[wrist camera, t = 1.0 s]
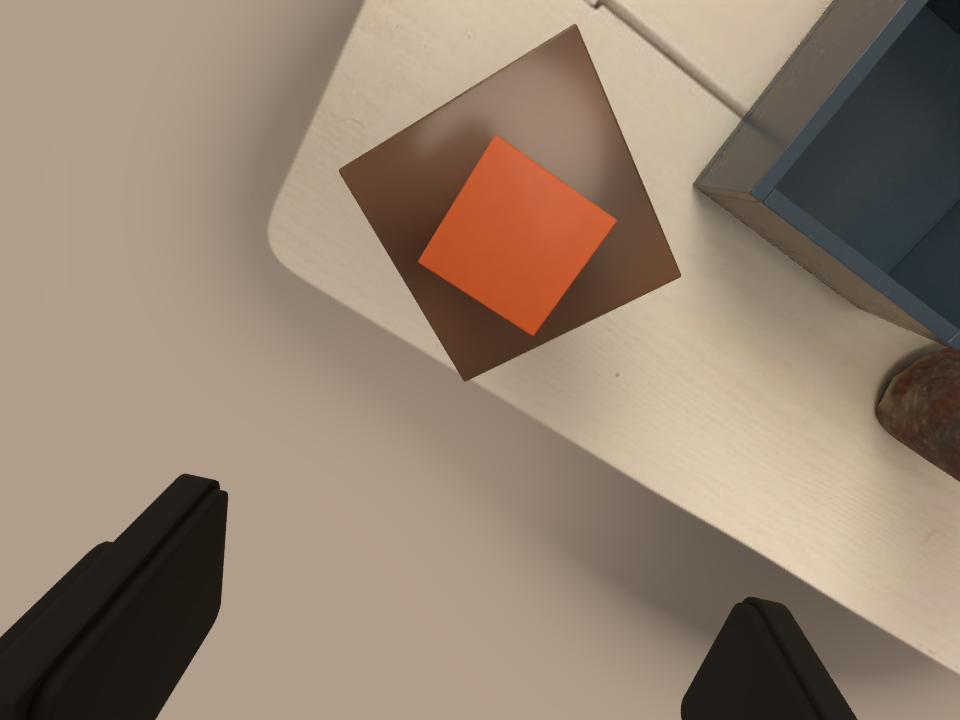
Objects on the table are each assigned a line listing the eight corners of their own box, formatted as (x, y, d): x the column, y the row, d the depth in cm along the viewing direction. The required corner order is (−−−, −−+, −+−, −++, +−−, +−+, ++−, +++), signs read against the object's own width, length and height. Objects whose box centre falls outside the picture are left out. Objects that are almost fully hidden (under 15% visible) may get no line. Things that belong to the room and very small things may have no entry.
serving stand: (397, 165, 31) (337, 170, 20) (549, 73, 29) (576, 22, 18) (477, 309, 34) (464, 383, 23) (621, 234, 32) (682, 276, 21)
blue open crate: (691, 184, 31) (748, 193, 24) (873, -54, 27) (1012, -132, 19) (859, 308, 33) (958, 351, 26) (1052, 108, 29) (1237, 92, 22)
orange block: (434, 241, 21) (417, 262, 17) (497, 138, 20) (495, 133, 15) (527, 302, 22) (533, 337, 18) (595, 207, 20) (618, 220, 16)
